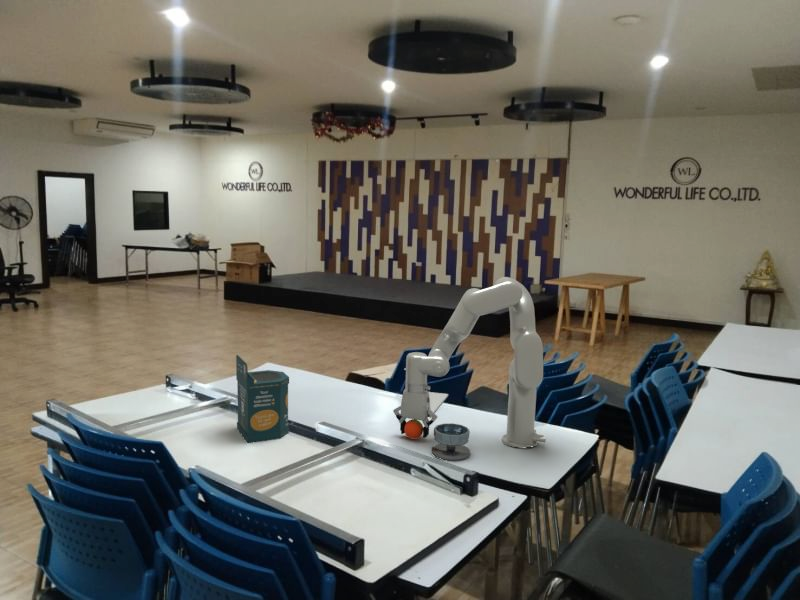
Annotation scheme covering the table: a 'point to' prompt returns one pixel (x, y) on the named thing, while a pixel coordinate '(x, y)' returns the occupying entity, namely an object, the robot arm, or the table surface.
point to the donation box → (261, 403)
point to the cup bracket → (451, 442)
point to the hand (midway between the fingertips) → (414, 434)
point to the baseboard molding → (436, 400)
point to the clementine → (413, 429)
